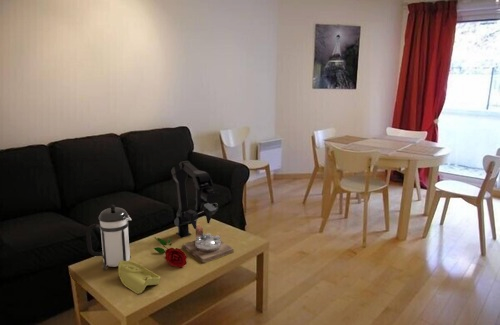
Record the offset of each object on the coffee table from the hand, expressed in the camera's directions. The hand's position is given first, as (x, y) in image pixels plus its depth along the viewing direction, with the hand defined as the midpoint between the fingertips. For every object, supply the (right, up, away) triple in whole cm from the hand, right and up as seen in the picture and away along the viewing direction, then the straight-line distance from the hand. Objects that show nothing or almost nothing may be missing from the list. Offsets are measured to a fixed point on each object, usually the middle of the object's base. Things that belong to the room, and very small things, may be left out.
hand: (201, 225), depth 191 cm
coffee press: (-40, -16, -13) cm, 45 cm away
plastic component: (-25, -20, -26) cm, 41 cm away
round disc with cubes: (+1, -10, +5) cm, 11 cm away
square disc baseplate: (+3, -13, +3) cm, 14 cm away
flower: (-17, -15, -4) cm, 23 cm away
